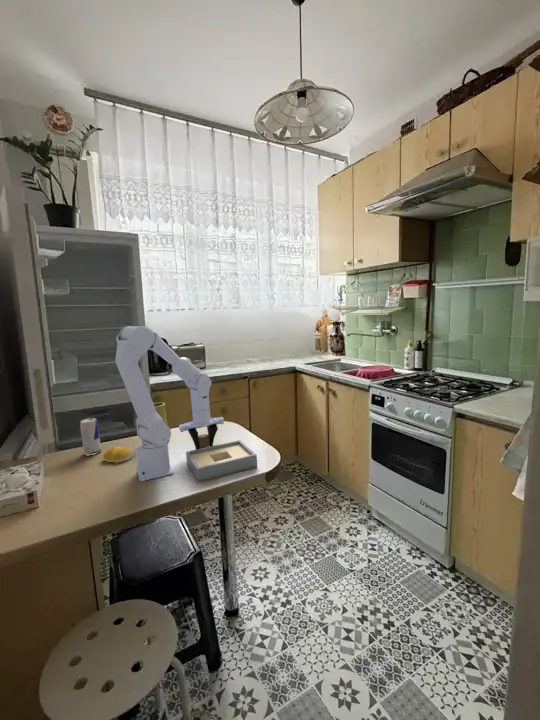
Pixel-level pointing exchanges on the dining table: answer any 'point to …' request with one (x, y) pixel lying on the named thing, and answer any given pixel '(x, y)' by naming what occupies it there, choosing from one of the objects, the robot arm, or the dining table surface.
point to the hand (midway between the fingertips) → (204, 448)
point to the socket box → (220, 460)
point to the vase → (161, 411)
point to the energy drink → (90, 435)
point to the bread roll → (118, 454)
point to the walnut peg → (203, 441)
